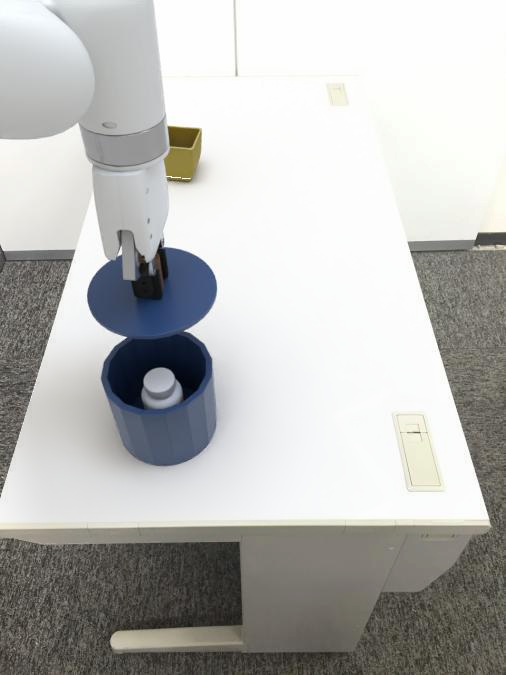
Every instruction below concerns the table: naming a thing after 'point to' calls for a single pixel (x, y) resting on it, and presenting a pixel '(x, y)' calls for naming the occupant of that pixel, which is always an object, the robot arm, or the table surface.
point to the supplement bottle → (161, 389)
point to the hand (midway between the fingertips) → (151, 285)
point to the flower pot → (183, 152)
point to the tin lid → (153, 314)
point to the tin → (170, 423)
